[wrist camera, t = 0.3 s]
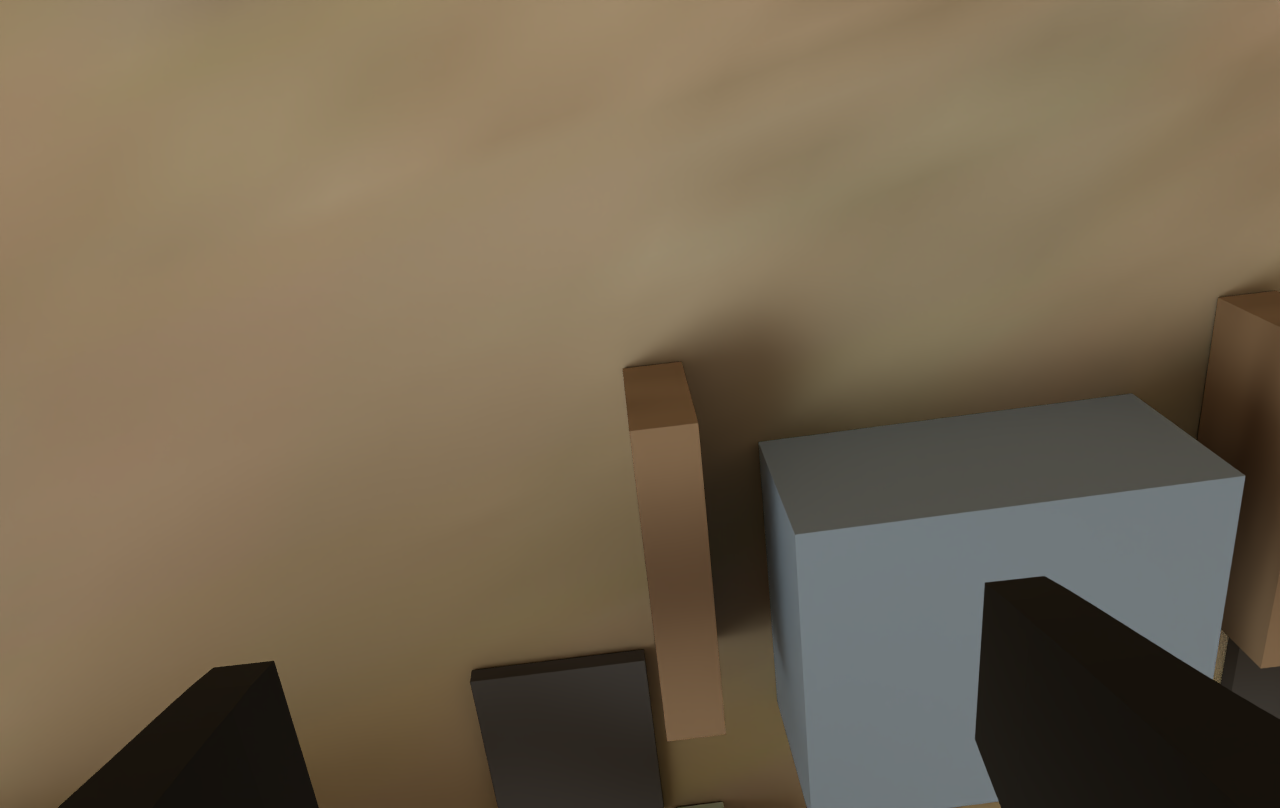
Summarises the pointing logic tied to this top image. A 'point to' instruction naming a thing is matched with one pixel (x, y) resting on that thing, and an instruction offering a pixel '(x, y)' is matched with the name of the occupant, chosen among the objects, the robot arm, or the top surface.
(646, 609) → the top surface
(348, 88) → the top surface
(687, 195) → the top surface
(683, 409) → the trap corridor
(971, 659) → the slate block
